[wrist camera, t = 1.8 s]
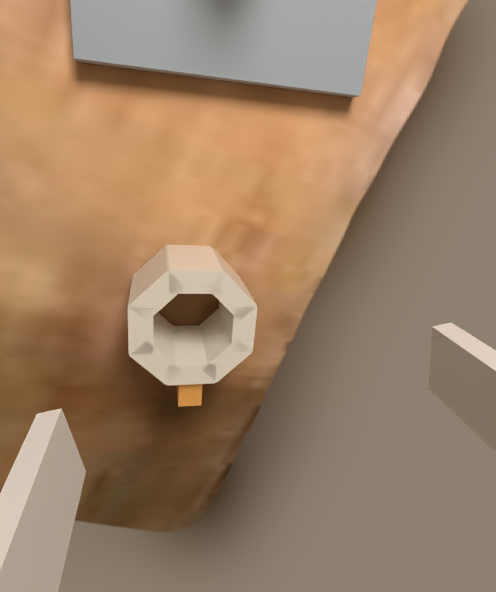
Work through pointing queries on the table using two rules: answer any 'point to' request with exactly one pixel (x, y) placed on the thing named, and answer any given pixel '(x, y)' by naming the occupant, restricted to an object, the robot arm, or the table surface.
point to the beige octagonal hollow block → (189, 338)
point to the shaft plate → (232, 40)
